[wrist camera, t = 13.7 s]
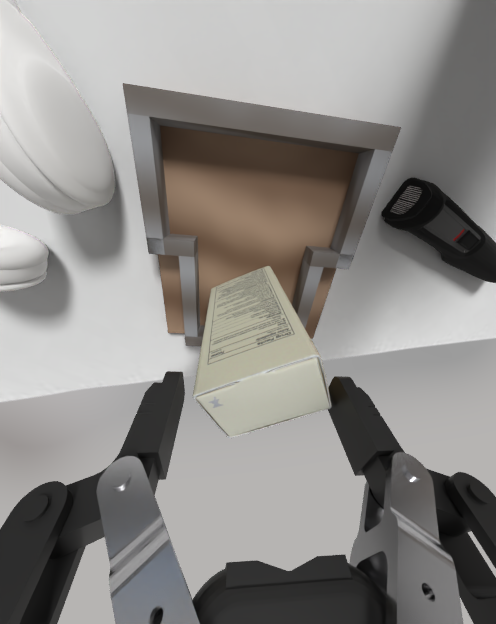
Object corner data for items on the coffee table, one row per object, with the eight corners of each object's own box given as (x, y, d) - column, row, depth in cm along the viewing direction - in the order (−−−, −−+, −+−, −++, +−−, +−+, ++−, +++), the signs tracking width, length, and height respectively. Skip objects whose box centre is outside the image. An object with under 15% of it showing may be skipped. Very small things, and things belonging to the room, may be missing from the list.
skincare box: (228, 321, 22) (223, 442, 12) (209, 287, 20) (183, 399, 9) (285, 300, 21) (336, 412, 11) (273, 262, 19) (321, 356, 8)
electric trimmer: (470, 284, 23) (501, 297, 20) (374, 217, 19) (399, 223, 16) (503, 255, 22) (543, 265, 19) (408, 173, 17) (442, 171, 14)
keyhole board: (143, 102, 14) (122, 83, 11) (373, 137, 15) (401, 127, 13) (170, 327, 23) (162, 344, 21) (310, 333, 25) (318, 350, 22)
